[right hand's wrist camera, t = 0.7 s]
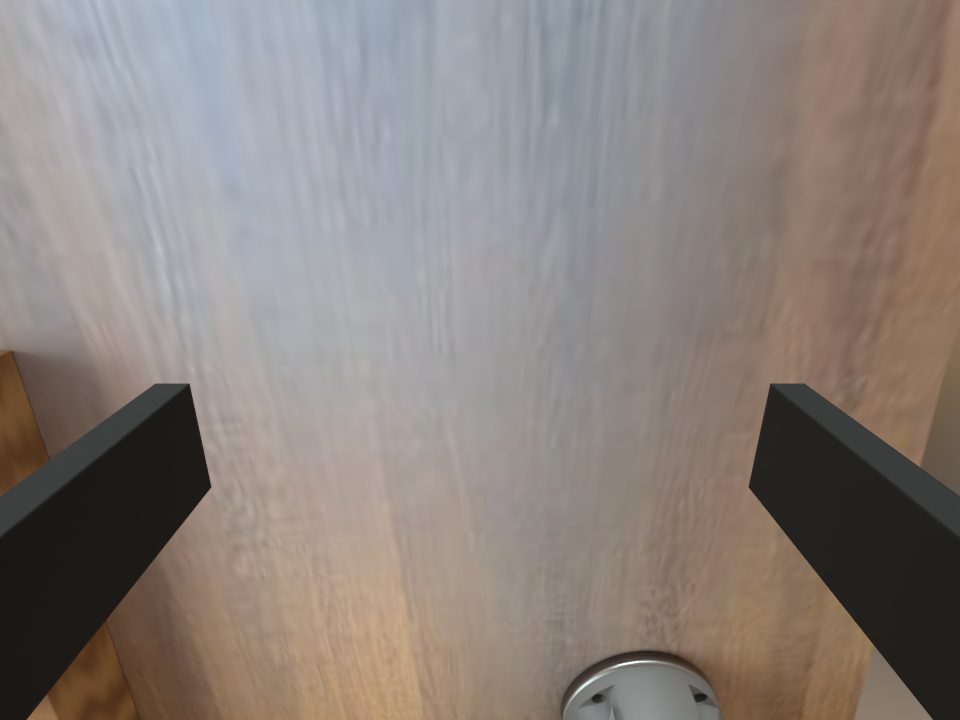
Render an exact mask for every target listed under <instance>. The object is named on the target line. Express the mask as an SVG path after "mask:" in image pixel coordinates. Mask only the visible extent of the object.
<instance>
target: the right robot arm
mask: <svg viewBox="0 0 960 720" xmlns="http://www.w3.org/2000/svg"><path fill="white" fill-rule="evenodd" d="M210 488H211V483H210V478H209V474H208V469H207V464H206V459H205V455H204V450H203V445H202V440H201V436H200V431H199V426H198V422H197V417H196V412H195V407H194V403H193V398H192V393H191V388H190V384H154V385H153V386H152V387H150V388H149V389H148V390H146V391H145V392H143V393H142V394H141V395H139V396H138V397H137V398H135V399H134V400H132V401H131V402H130V403H128V404H127V405H126V406H124V407H123V408H121V409H120V410H119V411H117V412H116V413H114V414H113V415H112V416H110V417H109V418H108V419H106V420H105V421H103V422H102V423H101V424H99V425H98V426H97V427H95V428H94V429H92V430H91V431H90V432H88V433H87V434H86V435H84V436H83V437H81V438H80V439H79V440H77V441H76V442H74V443H73V444H72V445H70V446H69V447H68V448H66V449H65V450H63V451H62V452H61V453H59V454H58V455H57V456H55V457H54V458H52V459H51V460H50V461H48V462H47V463H46V464H44V465H43V466H41V467H40V468H39V469H37V470H36V471H34V472H33V473H32V474H30V475H29V476H28V477H26V478H25V479H23V480H22V481H21V482H19V483H18V484H17V485H15V486H14V487H12V488H11V489H10V490H8V491H7V492H6V493H4V494H3V495H1V496H0V720H27V719H28V718H29V716H30V715H31V714H32V713H33V711H34V710H35V709H36V708H37V706H38V705H39V704H40V702H41V701H42V700H43V699H44V697H45V696H46V695H47V694H48V692H49V691H50V690H51V689H52V687H53V686H54V685H55V684H56V682H57V681H58V680H59V679H60V677H61V676H62V675H63V673H64V672H65V671H66V670H67V668H68V667H69V666H70V665H71V663H72V662H73V661H74V660H75V658H76V657H77V656H78V655H79V653H80V652H81V651H82V650H83V648H84V647H85V646H86V644H87V643H88V642H89V641H90V639H91V638H92V637H93V636H94V634H95V633H96V632H97V631H98V629H99V628H100V627H101V626H102V624H103V623H104V622H105V621H106V619H107V618H108V617H109V615H110V614H111V613H112V612H113V610H114V609H115V608H116V607H117V605H118V604H119V603H120V602H121V600H122V599H123V598H124V597H125V595H126V594H127V593H128V592H129V590H130V589H131V588H132V586H133V585H134V584H135V583H136V581H137V580H138V579H139V578H140V576H141V575H142V574H143V573H144V571H145V570H146V569H147V568H148V566H149V565H150V564H151V563H152V561H153V560H154V559H155V558H156V556H157V555H158V554H159V552H160V551H161V550H162V549H163V547H164V546H165V545H166V544H167V542H168V541H169V540H170V539H171V537H172V536H173V535H174V534H175V532H176V531H177V530H178V529H179V527H180V526H181V525H182V523H183V522H184V521H185V520H186V518H187V517H188V516H189V515H190V513H191V512H192V511H193V510H194V508H195V507H196V506H197V505H198V503H199V502H200V501H201V500H202V498H203V497H204V496H205V494H206V493H207V492H208V491H209V489H210ZM749 488H750V489H751V491H752V492H753V493H754V494H755V496H756V497H757V498H758V500H759V501H760V502H761V503H762V505H763V506H764V507H765V508H766V510H767V511H768V512H769V513H770V515H771V516H772V517H773V518H774V520H775V521H776V522H777V523H778V525H779V526H780V527H781V529H782V530H783V531H784V532H785V534H786V535H787V536H788V537H789V539H790V540H791V541H792V542H793V544H794V545H795V546H796V547H797V549H798V550H799V551H800V552H801V554H802V555H803V556H804V558H805V559H806V560H807V561H808V563H809V564H810V565H811V566H812V568H813V569H814V570H815V571H816V573H817V574H818V575H819V576H820V578H821V579H822V580H823V581H824V583H825V584H826V585H827V586H828V588H829V589H830V590H831V592H832V593H833V594H834V595H835V597H836V598H837V599H838V600H839V602H840V603H841V604H842V605H843V607H844V608H845V609H846V610H847V612H848V613H849V614H850V615H851V617H852V618H853V619H854V621H855V622H856V623H857V624H858V626H859V627H860V628H861V629H862V631H863V632H864V633H865V634H866V636H867V637H868V638H869V639H870V641H871V642H872V643H873V644H874V646H875V647H876V648H877V650H878V651H879V652H880V653H881V655H882V656H883V657H884V658H885V660H886V661H887V662H888V663H889V665H890V666H891V667H892V668H893V670H894V671H895V672H896V673H897V675H898V676H899V677H900V679H901V680H902V681H903V682H904V684H905V685H906V686H907V687H908V689H909V690H910V691H911V692H912V694H913V695H914V696H915V697H916V699H917V700H918V701H919V702H920V704H921V705H922V706H923V708H924V709H925V710H926V711H927V712H928V714H929V715H930V716H931V718H932V719H933V720H960V496H959V495H957V494H956V493H954V492H953V491H952V490H950V489H949V488H948V487H946V486H945V485H943V484H942V483H941V482H939V481H938V480H936V479H935V478H934V477H932V476H931V475H930V474H928V473H927V472H926V471H924V470H923V469H921V468H920V467H919V466H917V465H916V464H914V463H913V462H912V461H910V460H909V459H908V458H906V457H905V456H903V455H902V454H901V453H899V452H898V451H897V450H895V449H894V448H892V447H891V446H890V445H888V444H887V443H886V442H884V441H883V440H881V439H880V438H879V437H877V436H876V435H874V434H873V433H872V432H870V431H869V430H868V429H866V428H865V427H863V426H862V425H861V424H859V423H858V422H857V421H855V420H854V419H852V418H851V417H850V416H848V415H847V414H846V413H844V412H843V411H841V410H840V409H839V408H837V407H836V406H834V405H833V404H832V403H830V402H829V401H828V400H826V399H825V398H823V397H822V396H821V395H819V394H818V393H817V392H815V391H814V390H812V389H811V388H810V387H808V386H807V385H806V384H770V388H769V393H768V398H767V403H766V407H765V412H764V417H763V422H762V426H761V431H760V436H759V440H758V445H757V450H756V455H755V459H754V464H753V469H752V474H751V478H750V483H749ZM561 719H562V720H722V716H721V711H720V707H719V703H718V700H717V697H716V695H715V693H714V690H713V688H712V686H711V684H710V682H709V680H708V679H707V677H706V676H705V675H704V674H703V673H702V672H701V671H700V670H699V669H698V668H697V667H695V666H694V665H692V664H691V663H689V662H687V661H685V660H683V659H680V658H678V657H675V656H671V655H667V654H661V653H652V652H640V653H629V654H624V655H619V656H615V657H612V658H609V659H606V660H604V661H601V662H599V663H597V664H595V665H593V666H592V667H590V668H588V669H587V670H585V671H584V672H583V673H581V674H580V675H579V676H578V677H577V678H576V679H575V680H574V681H573V682H572V683H571V685H570V686H569V687H568V689H567V691H566V692H565V695H564V697H563V700H562V704H561Z"/></svg>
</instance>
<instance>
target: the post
mask: <svg viewBox="0 0 960 720" xmlns="http://www.w3.org/2000/svg"><path fill="white" fill-rule="evenodd" d="M48 461H49V458H48V455H47V452H46V449H45V446H44V443H43V440H42V438H41V435H40V432H39V429H38V426H37V423H36V420H35V417H34V414H33V412H32V409H31V406H30V403H29V400H28V397H27V394H26V391H25V389H24V386H23V383H22V380H21V377H20V374H19V371H18V368H17V366H16V363H15V360H14V357H13V354H12V351H0V496H1V495H3V494H4V493H6V492H7V491H8V490H10V489H11V488H12V487H14V486H15V485H17V484H18V483H19V482H21V481H22V480H23V479H25V478H26V477H28V476H29V475H30V474H32V473H33V472H34V471H36V470H37V469H39V468H40V467H41V466H43V465H44V464H46V463H47V462H48ZM27 720H139V717H138V714H137V711H136V708H135V705H134V702H133V699H132V697H131V694H130V691H129V688H128V685H127V682H126V679H125V676H124V674H123V671H122V668H121V665H120V662H119V659H118V656H117V653H116V651H115V648H114V645H113V642H112V639H111V636H110V633H109V630H108V628H107V625H106V622H104V623H103V624H102V626H101V627H100V628H99V629H98V631H97V632H96V633H95V634H94V636H93V637H92V638H91V639H90V641H89V642H88V643H87V644H86V646H85V647H84V648H83V650H82V651H81V652H80V653H79V655H78V656H77V657H76V658H75V660H74V661H73V662H72V663H71V665H70V666H69V667H68V668H67V670H66V671H65V672H64V673H63V675H62V676H61V677H60V679H59V680H58V681H57V682H56V684H55V685H54V686H53V687H52V689H51V690H50V691H49V692H48V694H47V695H46V696H45V697H44V699H43V700H42V701H41V702H40V704H39V705H38V706H37V708H36V709H35V710H34V711H33V713H32V714H31V715H30V716H29V718H28V719H27Z"/></svg>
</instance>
